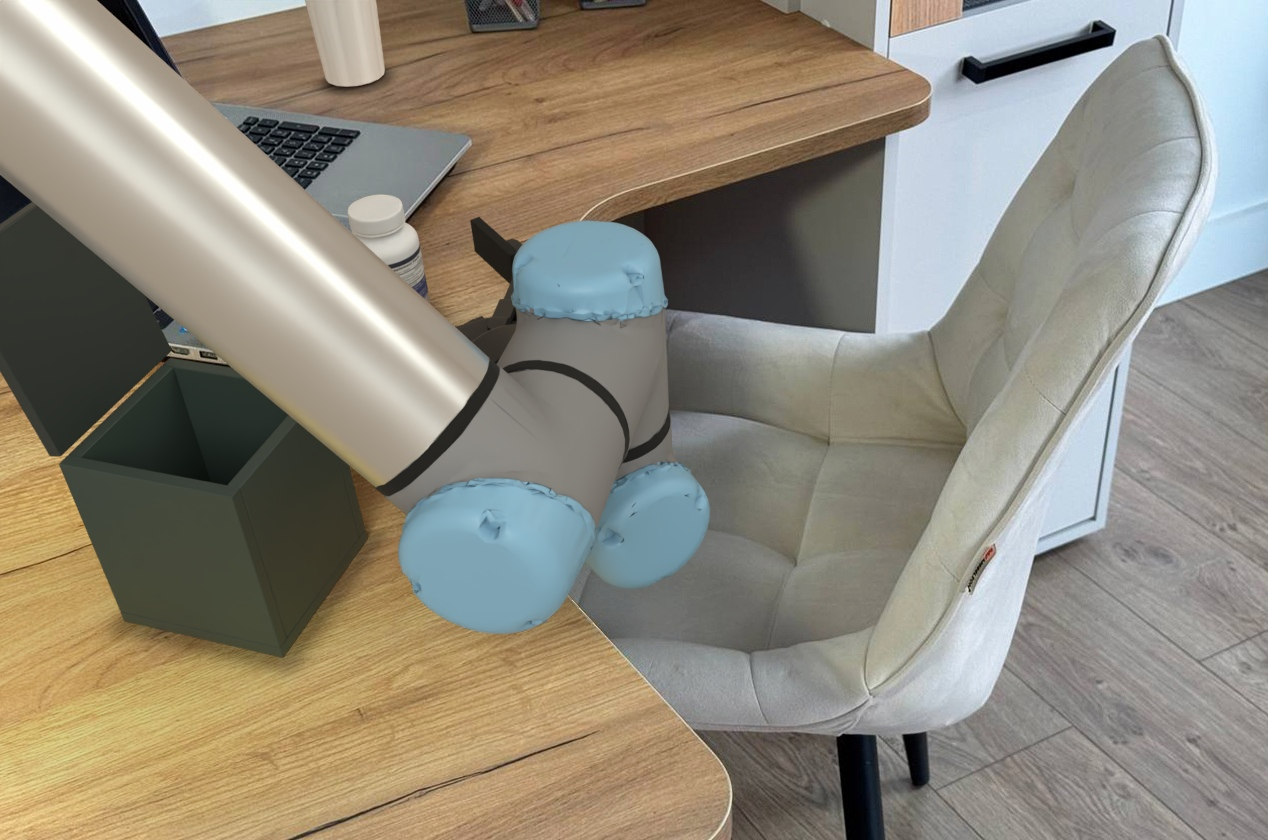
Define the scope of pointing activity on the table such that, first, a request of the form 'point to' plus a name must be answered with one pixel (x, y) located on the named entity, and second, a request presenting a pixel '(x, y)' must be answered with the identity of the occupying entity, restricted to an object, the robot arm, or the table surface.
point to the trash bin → (214, 509)
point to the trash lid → (68, 329)
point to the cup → (347, 40)
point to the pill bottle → (390, 237)
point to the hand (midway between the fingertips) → (392, 261)
